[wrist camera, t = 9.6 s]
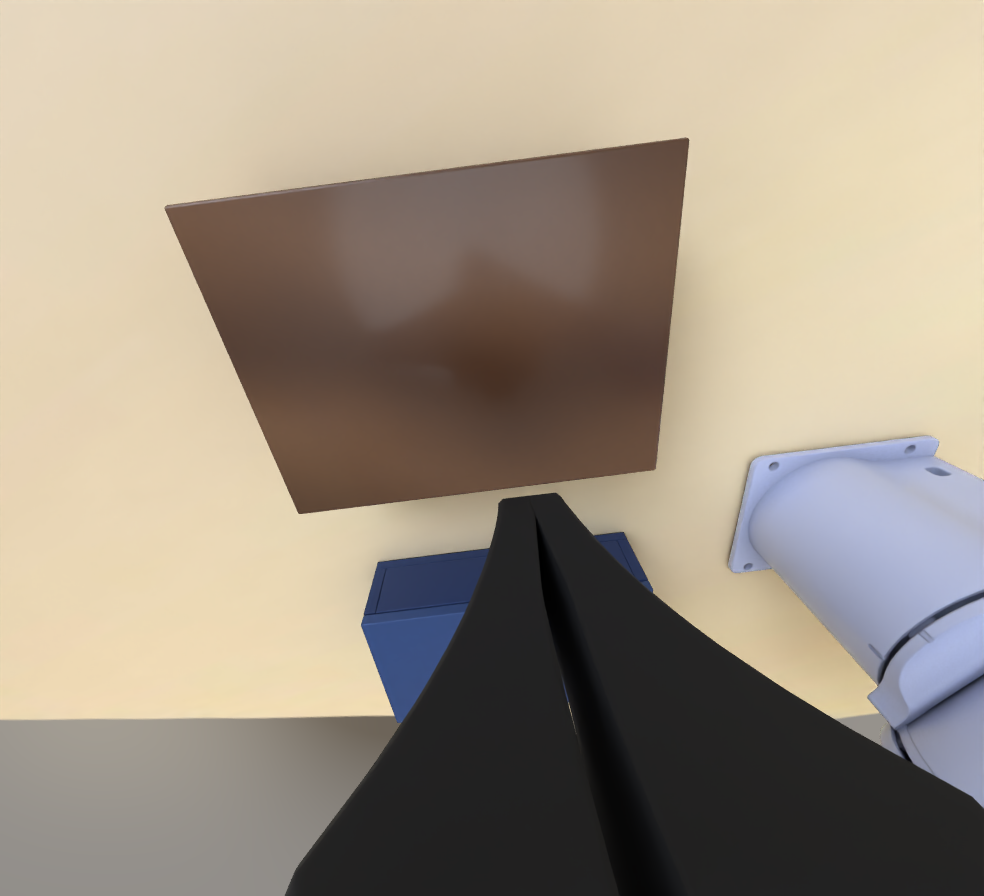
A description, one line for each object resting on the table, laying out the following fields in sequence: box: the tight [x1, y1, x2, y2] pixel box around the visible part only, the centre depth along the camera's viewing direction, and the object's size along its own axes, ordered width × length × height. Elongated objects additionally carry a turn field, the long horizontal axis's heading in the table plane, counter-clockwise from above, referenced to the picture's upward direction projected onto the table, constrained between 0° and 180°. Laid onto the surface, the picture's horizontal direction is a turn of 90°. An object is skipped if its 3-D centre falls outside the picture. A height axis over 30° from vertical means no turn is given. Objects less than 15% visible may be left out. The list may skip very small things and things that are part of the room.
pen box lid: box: [165, 138, 689, 514], centre depth 13 cm, size 10×14×1 cm
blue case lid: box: [361, 581, 653, 723], centre depth 21 cm, size 8×14×1 cm, turn 96°
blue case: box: [364, 532, 648, 616], centre depth 23 cm, size 8×14×4 cm, turn 96°
